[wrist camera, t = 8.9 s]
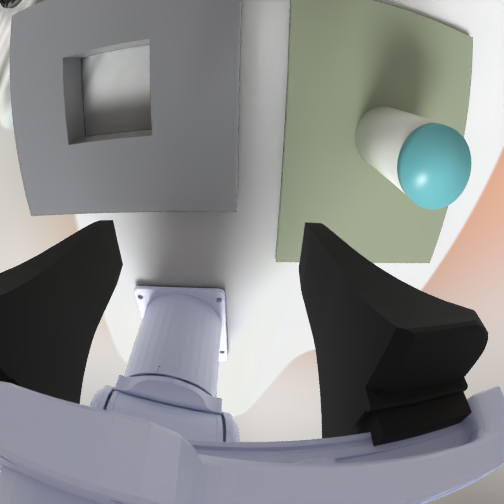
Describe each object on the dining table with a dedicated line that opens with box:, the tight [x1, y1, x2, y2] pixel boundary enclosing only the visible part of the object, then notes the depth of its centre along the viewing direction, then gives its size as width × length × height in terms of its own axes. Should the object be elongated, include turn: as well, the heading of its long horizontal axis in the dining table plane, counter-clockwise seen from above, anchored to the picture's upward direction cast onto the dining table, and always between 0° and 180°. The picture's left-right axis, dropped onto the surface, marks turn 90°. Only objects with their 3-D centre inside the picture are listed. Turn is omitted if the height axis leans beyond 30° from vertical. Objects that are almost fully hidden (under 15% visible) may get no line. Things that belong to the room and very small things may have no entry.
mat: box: [276, 0, 473, 263], centre depth 18 cm, size 20×14×1 cm
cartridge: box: [355, 106, 471, 210], centre depth 15 cm, size 4×4×7 cm
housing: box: [10, 0, 242, 216], centre depth 16 cm, size 16×16×2 cm
